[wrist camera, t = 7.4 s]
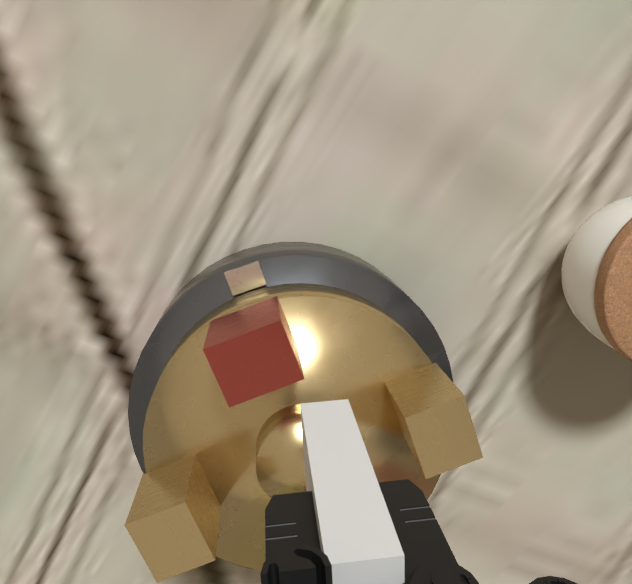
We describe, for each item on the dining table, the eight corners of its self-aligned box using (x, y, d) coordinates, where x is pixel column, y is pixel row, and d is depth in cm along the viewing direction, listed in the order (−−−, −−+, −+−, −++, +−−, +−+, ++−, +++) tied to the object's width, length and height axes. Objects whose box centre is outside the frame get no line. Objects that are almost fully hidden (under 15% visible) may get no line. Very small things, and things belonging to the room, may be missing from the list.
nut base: (456, 451, 39) (485, 494, 34) (208, 538, 39) (201, 595, 34) (387, 201, 34) (409, 209, 29) (96, 299, 33) (68, 324, 28)
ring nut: (385, 240, 29) (425, 265, 22) (462, 479, 34) (514, 560, 27) (102, 346, 29) (56, 405, 22) (220, 573, 33) (211, 677, 27)
